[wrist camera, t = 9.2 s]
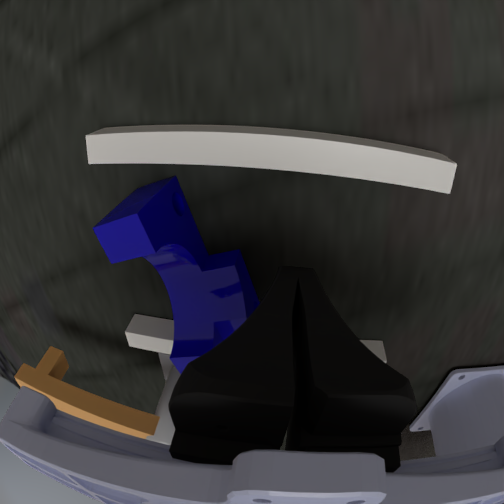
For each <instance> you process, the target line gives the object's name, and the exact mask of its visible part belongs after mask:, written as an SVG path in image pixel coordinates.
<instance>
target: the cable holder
mask: <svg viewBox="0 0 504 504" xmlns="http://www.w3.org/2000/svg"><path fill="white" fill-rule="evenodd" d="M93 230H94V232H95V234H96V236H97V238H98V240H99V242H100V244H101V245H102V247H103V249H104V251H105V253H106V255H107V257H108V259H109V260H110V262H111V264H113V263H117V262H121V261H125V260H129V259H133V258H138V257H143V258H145V259H146V260H148V261H149V262H150V263H151V264H152V265H153V266H154V267H155V269H156V270H157V271H158V273H159V274H160V276H161V278H162V280H163V282H164V284H165V286H166V289H167V291H168V294H169V297H170V301H171V305H172V311H173V318H174V340H173V347H172V351H171V354H170V357H169V358H170V360H171V361H172V363H173V364H174V366H175V367H176V369H177V370H178V371H179V373H180V374H181V373H182V372H183V370H184V369H185V367H186V366H187V364H188V363H189V362H191V361H193V360H195V359H196V358H198V357H200V356H201V355H203V354H205V353H207V352H208V351H210V350H211V349H213V348H214V347H215V346H217V345H218V344H219V343H221V342H222V341H223V340H225V339H226V338H227V337H229V336H230V335H231V334H232V333H233V332H234V331H235V330H236V329H237V328H238V327H240V326H241V325H242V324H243V323H244V322H245V321H246V319H247V318H248V317H249V316H250V315H251V314H252V313H253V311H254V310H255V309H256V308H257V306H258V305H259V304H260V302H259V300H258V297H257V294H256V292H255V289H254V286H253V284H252V281H251V278H250V276H249V273H248V270H247V268H246V265H245V262H244V260H243V257H242V254H241V252H240V249H237V250H233V251H228V252H223V253H218V254H214V255H208V252H207V250H206V248H205V245H204V243H203V241H202V238H201V236H200V233H199V231H198V229H197V226H196V224H195V221H194V219H193V217H192V214H191V212H190V209H189V207H188V204H187V202H186V200H185V197H184V195H183V192H182V190H181V187H180V185H179V182H178V180H177V177H176V176H172V177H169V178H166V179H163V180H161V181H158V182H155V183H152V184H149V185H146V186H143V187H140V188H138V189H136V190H135V191H134V192H133V193H131V194H130V195H129V196H128V197H127V198H126V199H124V200H123V201H122V202H121V203H120V204H119V205H118V206H116V207H115V208H114V209H113V210H112V211H111V212H110V213H109V214H107V215H106V216H105V217H104V218H103V219H102V220H101V221H100V222H99V223H98V224H97V225H95V226H94V227H93Z"/></svg>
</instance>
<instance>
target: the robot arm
mask: <svg viewBox="0 0 504 504" xmlns="http://www.w3.org/2000/svg"><path fill="white" fill-rule="evenodd" d="M168 407H169V413H170V416H171V419H172V422H173V425H174V427H175V432H174V435H173V439H172V442H171V445H166V444H162V443H158V442H154V441H150V440H146V439H143V438H139V437H135V436H132V435H128V434H125V433H122V432H119V431H115V430H112V429H109V428H106V427H103V426H100V425H97V424H94V423H92V422H89V421H86V420H83V419H81V418H78V417H75V416H73V415H70V414H68V413H65V412H63V411H60V410H58V409H56V406H55V405H54V403H53V402H52V401H51V400H50V399H49V398H48V397H47V396H45V395H43V394H42V393H39V392H37V391H35V390H32V389H30V388H28V387H26V386H22V387H21V388H20V390H19V392H18V394H17V395H16V397H15V398H14V400H13V402H12V403H11V405H10V407H9V409H8V410H7V412H6V414H5V416H4V417H3V419H2V421H1V423H0V442H1V443H3V445H5V446H6V447H7V448H8V449H9V450H10V451H12V453H14V454H15V455H16V456H17V457H19V458H20V459H21V460H22V461H23V462H24V463H26V464H27V465H28V466H30V467H32V468H34V469H36V470H37V471H39V472H41V473H43V474H44V475H46V476H48V477H50V478H52V479H54V480H56V481H58V482H60V483H62V484H64V485H66V486H67V487H69V488H71V489H74V490H76V491H78V492H80V493H82V494H84V495H86V496H88V497H91V498H93V499H95V500H98V501H100V502H102V503H104V504H504V365H503V366H493V367H482V368H468V369H456V370H453V371H452V372H451V373H450V374H449V375H448V377H447V378H446V379H445V381H444V382H443V384H442V385H441V387H440V388H439V389H438V391H437V392H436V393H435V395H434V396H433V397H432V399H431V400H430V401H429V403H428V404H427V405H426V407H425V408H424V409H423V410H422V412H421V413H420V414H419V415H418V417H417V418H416V419H415V420H414V421H413V423H412V424H411V425H410V427H409V428H410V431H413V432H414V431H424V430H431V433H432V438H433V443H434V448H435V454H436V456H435V457H429V458H421V459H413V460H404V461H400V455H399V447H398V446H400V445H401V442H402V440H401V432H402V430H403V429H404V428H405V427H406V426H407V424H408V423H409V422H410V421H411V420H412V418H413V417H414V415H415V413H416V409H417V405H416V401H415V396H414V393H413V390H412V387H411V385H410V382H409V379H408V378H406V377H405V376H403V375H402V374H400V373H399V372H397V371H396V370H394V369H393V368H391V367H390V366H389V365H387V364H386V363H385V362H383V361H382V360H381V359H380V358H379V357H377V356H376V355H375V354H374V353H373V352H372V351H370V350H369V349H368V348H367V347H366V346H365V345H364V344H363V343H362V342H361V341H360V340H359V339H358V338H357V337H356V336H355V335H354V333H353V332H352V331H351V330H350V329H349V327H348V326H347V325H346V324H345V322H344V321H343V319H342V318H341V317H340V315H339V314H338V312H337V311H336V309H335V308H334V306H333V305H332V303H331V301H330V300H329V298H328V296H327V295H326V293H325V291H324V289H323V287H322V285H321V283H320V281H319V279H318V277H317V275H316V273H315V271H314V270H313V269H311V268H301V267H291V266H280V267H279V268H278V272H277V275H276V277H275V280H274V282H273V284H272V285H271V287H270V289H269V290H268V292H267V294H266V295H265V297H264V298H263V300H262V301H261V302H260V304H259V305H258V306H257V308H256V309H255V310H254V311H253V313H252V314H251V315H250V316H249V317H248V318H247V319H246V321H245V322H244V323H243V324H242V325H241V326H240V327H238V328H237V329H236V330H235V331H234V332H233V333H232V334H231V335H230V336H229V337H227V338H226V339H225V340H223V341H222V342H221V343H219V344H218V345H217V346H215V347H214V348H213V349H211V350H210V351H208V352H207V353H205V354H203V355H201V356H200V357H198V358H196V359H195V360H193V361H191V362H189V363H188V364H187V366H186V367H185V369H184V370H183V372H182V373H181V375H180V377H179V379H178V380H177V383H176V384H175V387H174V389H173V392H172V395H171V398H170V401H169V404H168ZM287 427H288V429H287ZM286 430H287V438H286V447H285V450H280V447H281V446H282V443H283V440H284V437H285V433H286Z"/></svg>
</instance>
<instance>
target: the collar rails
mask: <svg viewBox="0 0 504 504" xmlns="http://www.w3.org/2000/svg"><path fill="white" fill-rule="evenodd" d="M86 144H87V154H88V162H89V164H115V163H154V164H194V165H217V166H235V167H250V168H264V169H276V170H287V171H297V172H307V173H317V174H325V175H334V176H342V177H350V178H357V179H364V180H372V181H378V182H385V183H391V184H398V185H404V186H410V187H415V188H421V189H427V190H432V191H437V192H442V193H448V194H450V191H451V187H452V183H453V179H454V175H455V171H456V166H457V164H456V163H455V162H453V161H452V160H450V159H449V158H447V157H446V156H444V155H443V154H441V153H437V152H433V151H429V150H424V149H419V148H415V147H410V146H405V145H400V144H394V143H389V142H383V141H377V140H371V139H365V138H359V137H352V136H345V135H338V134H330V133H322V132H313V131H303V130H293V129H282V128H269V127H253V126H233V125H142V126H123V127H108V128H103V129H100V130H98V131H95V132H93V133H90V134H88V135H86ZM125 334H126V337H127V340H128V343H129V346H131V347H135V348H140V349H145V350H150V351H155V352H158V354H159V358H160V362H161V366H162V370H163V373H164V377H165V381H167V378H168V376H169V373H170V370H171V368H172V367H173V366H174V364H173V363H172V361H171V360H170V358H169V357H170V354H171V351H172V347H173V340H174V320H169V319H163V318H157V317H151V316H145V315H139V314H135V315H134V316H133V318H132V320H131V322H130V323H129V325H128V327H127V329H126V331H125ZM360 341H361V342H362V343H363V344H364V345H365V346H366V347H367V348H368V349H369V350H370V351H372V352H373V353H374V354H375V355H376V356H377V357H379V358H380V359H381V360H382V361H383V362H385V363H386V362H387V359H386V354H385V350H384V345H383V341H377V340H360Z"/></svg>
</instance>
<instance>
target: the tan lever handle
mask: <svg viewBox="0 0 504 504" xmlns="http://www.w3.org/2000/svg"><path fill="white" fill-rule="evenodd" d="M68 367H69V365H68V363H67V360H66V358H65V355H64V353H63V351H61V350H59V349H57V348H54V347H52V346H50V348H49V349H48V350H47V352H46V353H45V355H44V356H43V358H42V359H41V361H40V362H39V364H38V366H37V367H36V369H35V368H33V367H31V366H29V365H27V364H25V363H23V365H22V366H21V368H20V369H19V371H18V372H17V374H16V375H15V379H16V381H17V382H18V384H19V385H20V387H22V386H26V387H28V388H30V389H32V390H35V391H37V392H39V393H42V394H43V395H45V396H47V397H48V398H49V399H50V400H51V401H52V402H53V403H54V405H55V406H56V409H59V410H61V411H63V412H65V413H68V414H70V415H73V416H75V417H78V418H81V419H83V420H86V421H89V422H92V423H94V424H97V425H100V426H103V427H106V428H109V429H112V430H115V431H119V432H122V433H125V434H128V435H132V436H135V437H139V438H143V439H146V440H150V441H154V442H158V443H162V444H166V445H171V442H172V439H173V435H174V432H175V427H174V425H173V422H172V419H171V416H170V413H169V407H168V404H169V401H170V398H171V395H172V392H173V389H174V387H175V384H176V383H177V380H178V379H179V377H180V375H181V374H180V373H179V371H178V370H177V369H176V367H175V366H173V367H172V368H171V370H170V373H169V376H168V378H167V381H166V384H165V386H164V389H163V392H162V395H161V397H160V400H159V403H158V406H157V408H156V411H155V414H154V415H152V414H149V413H146V412H143V411H140V410H136V409H133V408H130V407H127V406H124V405H121V404H119V403H116V402H113V401H110V400H107V399H105V398H102V397H99V396H97V395H94V394H91V393H89V392H86V391H84V390H81V389H79V388H77V387H74V386H72V385H70V384H67V383H65V382H63V381H61V379H62V378H63V376H64V374H65V373H66V371H67V369H68Z"/></svg>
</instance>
